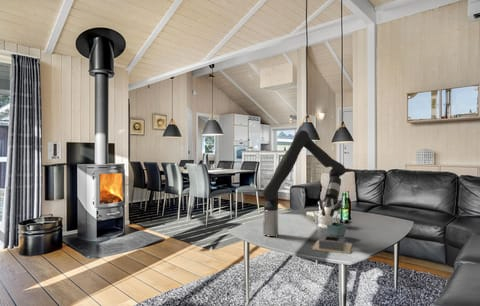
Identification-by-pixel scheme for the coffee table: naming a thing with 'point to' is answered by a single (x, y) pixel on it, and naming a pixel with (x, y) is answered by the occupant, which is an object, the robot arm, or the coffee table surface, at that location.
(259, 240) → the coffee table surface
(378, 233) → the coffee table surface
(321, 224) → the decorative container
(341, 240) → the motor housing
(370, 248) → the coffee table surface
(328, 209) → the plug
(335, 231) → the flower pot
